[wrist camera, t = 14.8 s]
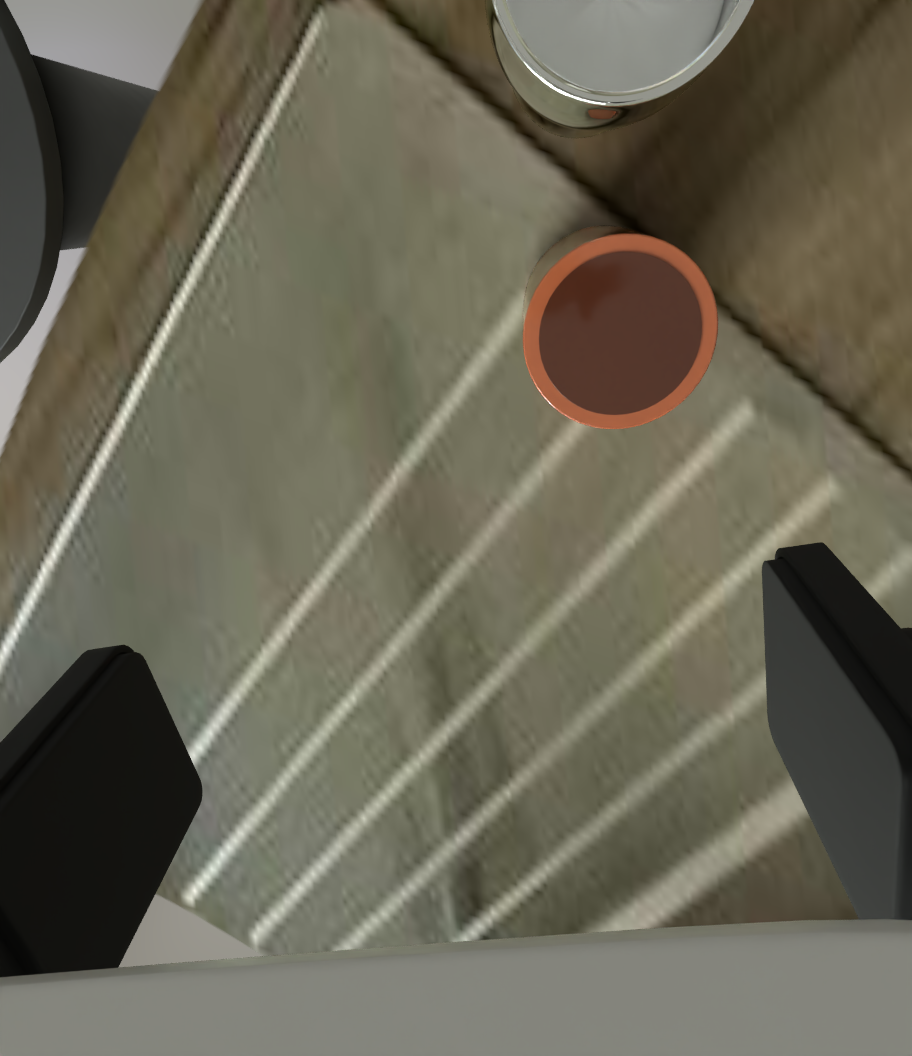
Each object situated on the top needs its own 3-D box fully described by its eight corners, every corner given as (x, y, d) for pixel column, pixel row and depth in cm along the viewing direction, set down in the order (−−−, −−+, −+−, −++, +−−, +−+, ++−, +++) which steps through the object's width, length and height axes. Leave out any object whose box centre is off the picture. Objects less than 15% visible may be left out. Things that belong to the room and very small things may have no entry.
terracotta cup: (492, 311, 35) (483, 341, 27) (603, 188, 32) (626, 186, 25) (595, 411, 36) (613, 465, 29) (709, 303, 34) (760, 332, 26)
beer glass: (608, 180, 32) (670, 169, 18) (468, 100, 31) (426, 26, 18) (700, 9, 29) (853, -152, 16) (549, -84, 28) (573, -341, 15)
